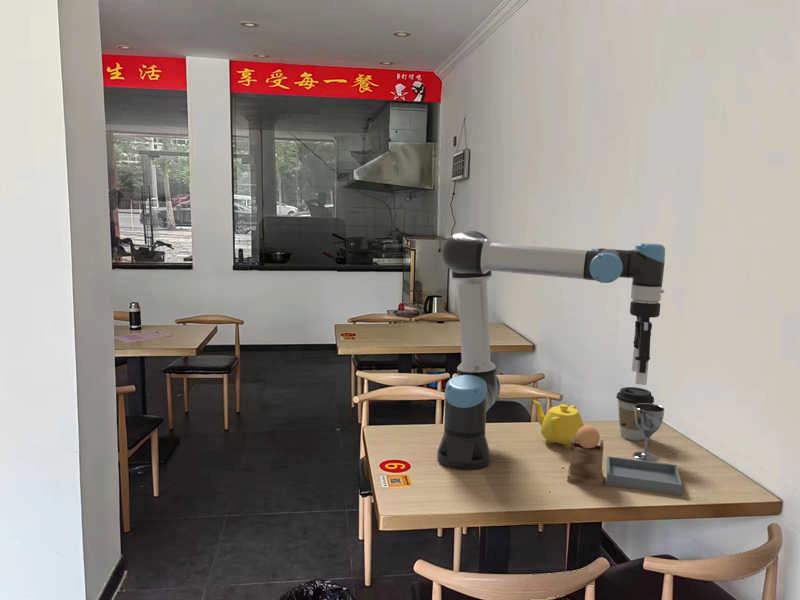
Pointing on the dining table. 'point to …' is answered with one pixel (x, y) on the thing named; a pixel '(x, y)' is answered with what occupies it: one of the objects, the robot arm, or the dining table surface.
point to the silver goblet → (648, 426)
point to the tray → (643, 475)
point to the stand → (586, 464)
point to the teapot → (559, 423)
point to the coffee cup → (631, 410)
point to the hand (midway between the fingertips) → (638, 377)
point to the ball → (587, 437)
